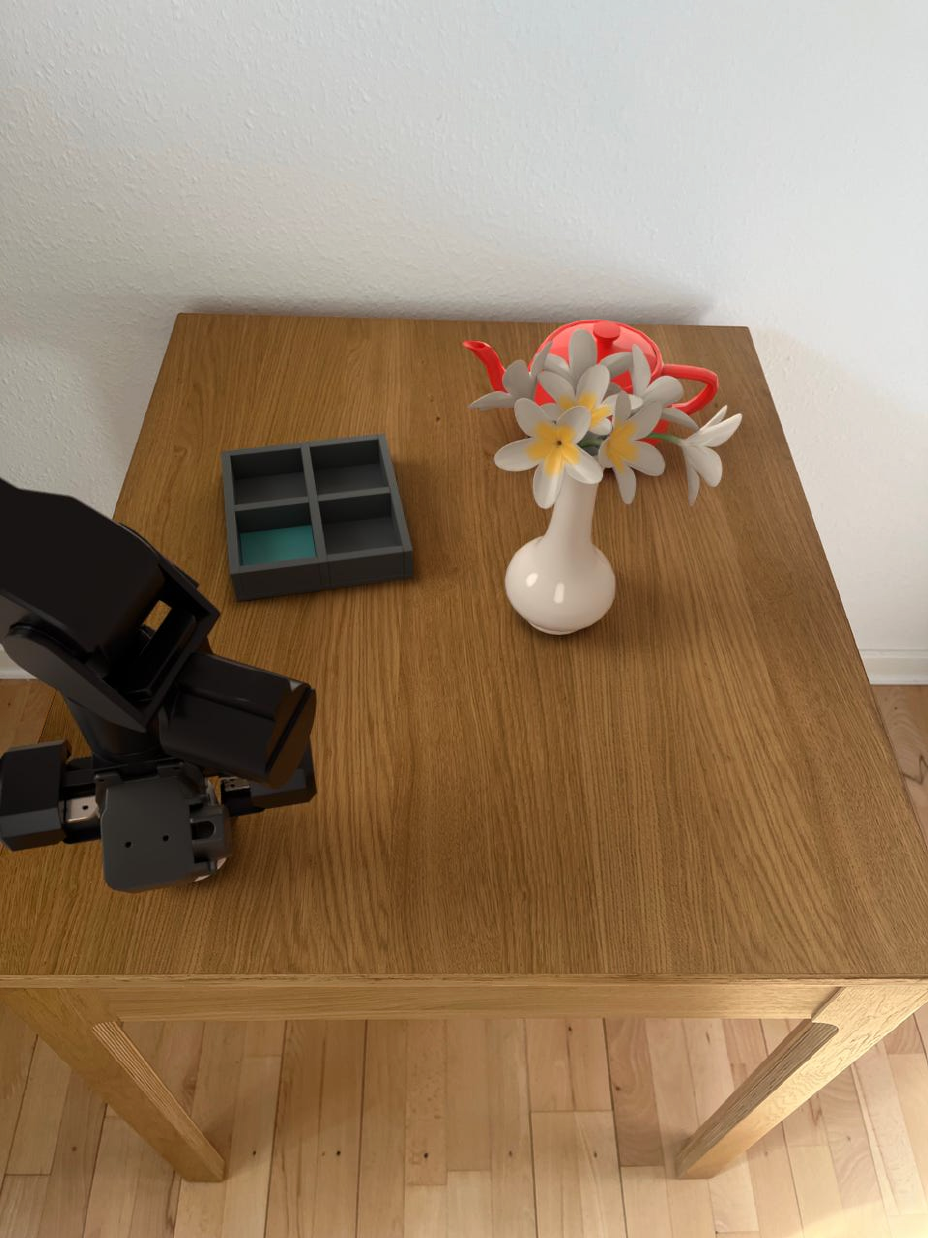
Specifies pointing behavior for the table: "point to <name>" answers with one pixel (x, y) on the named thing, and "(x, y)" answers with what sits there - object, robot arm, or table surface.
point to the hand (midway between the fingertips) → (186, 833)
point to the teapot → (608, 342)
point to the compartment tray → (314, 517)
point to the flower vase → (588, 468)
